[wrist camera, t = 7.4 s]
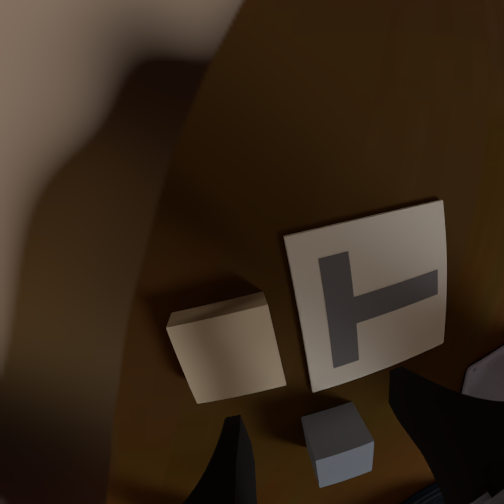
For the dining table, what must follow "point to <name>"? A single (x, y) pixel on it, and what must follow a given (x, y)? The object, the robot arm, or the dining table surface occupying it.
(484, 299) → the dining table surface
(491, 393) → the robot arm
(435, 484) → the canister
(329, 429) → the slate cube
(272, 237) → the dining table surface
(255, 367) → the birch block
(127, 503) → the dining table surface
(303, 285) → the letter card
